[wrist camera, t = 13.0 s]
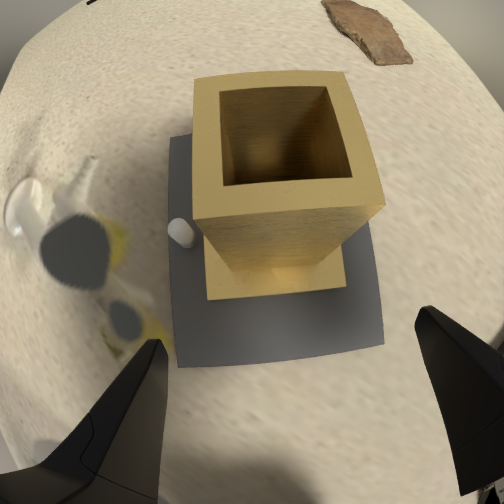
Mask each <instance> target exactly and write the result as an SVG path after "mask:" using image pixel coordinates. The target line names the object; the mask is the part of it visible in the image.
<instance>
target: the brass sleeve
mask: <svg viewBox="0 0 504 504" xmlns="http://www.w3.org/2000/svg"><path fill="white" fill-rule="evenodd" d="M192 201H193V220H194V222H195V223H196V224H197V226H198V227H199V229H200V230H201V231H202V233H203V234H204V253H205V270H206V286H207V300H209V301H214V300H227V299H240V298H251V297H262V296H273V295H283V294H293V293H302V292H311V291H320V290H328V289H337V288H343V287H346V279H345V271H344V264H343V257H342V250H341V244H342V243H343V242H344V241H346V240H347V239H348V238H349V237H350V236H351V235H352V234H354V233H355V232H356V231H357V230H358V229H359V228H360V227H362V226H363V225H364V224H365V223H366V222H367V221H368V220H369V219H370V218H372V217H373V216H374V215H375V214H376V213H377V212H378V211H379V210H380V209H382V208H383V207H384V206H385V205H386V202H385V198H384V194H383V190H382V186H381V182H380V178H379V174H378V171H377V167H376V164H375V160H374V157H373V153H372V150H371V147H370V144H369V140H368V137H367V134H366V131H365V128H364V125H363V122H362V120H361V117H360V114H359V111H358V108H357V106H356V103H355V100H354V98H353V95H352V93H351V90H350V88H349V85H348V83H347V80H346V78H345V76H344V73H343V72H336V71H307V70H292V71H263V72H248V73H237V74H227V75H219V76H211V77H204V78H198V79H194V101H193V136H192Z"/></svg>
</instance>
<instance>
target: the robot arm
mask: <svg viewBox="0 0 504 504" xmlns="http://www.w3.org/2000/svg"><path fill="white" fill-rule="evenodd" d="M415 331H416V335H417V338H418V342H419V345H420V349H421V353H422V356H423V360H424V363H425V366H426V369H427V372H428V375H429V378H430V380H431V383H432V386H433V389H434V392H435V395H436V398H437V401H438V404H439V408H440V411H441V414H442V417H443V421H444V424H445V428H446V431H447V435H448V439H449V443H450V447H451V451H452V456H453V460H454V465H455V469H456V474H457V479H458V485H459V491H460V495H461V496H464V495H466V494H469V493H471V492H474V491H476V490H478V489H480V488H483V487H485V486H487V485H489V484H491V483H493V484H494V485H492V486H491V487H489V488H488V489H487V490H485V491H484V492H483V493H482V495H481V497H480V499H479V502H478V504H504V356H503V355H502V354H500V353H499V352H498V351H496V350H495V349H494V348H492V347H491V346H489V345H488V344H487V343H485V342H484V341H483V340H481V339H480V338H478V337H477V336H476V335H474V334H473V333H471V332H470V331H468V330H467V329H466V328H464V327H463V326H461V325H460V324H458V323H457V322H455V321H454V320H453V319H451V318H450V317H448V316H447V315H445V314H444V313H442V312H441V311H439V310H438V309H436V308H435V307H433V306H431V305H429V306H424V307H422V308H421V309H420V311H419V313H418V316H417V318H416V321H415ZM167 397H168V354H167V352H166V350H165V348H164V345H163V343H162V341H161V340H160V339H148V340H147V341H146V342H145V343H144V344H143V346H142V347H141V348H140V349H139V350H138V352H137V353H136V354H135V355H134V356H133V358H132V359H131V360H130V361H129V363H128V364H127V365H126V366H125V367H124V369H123V370H122V371H121V372H120V374H119V375H118V376H117V377H116V378H115V380H114V381H113V382H112V383H111V385H110V386H109V387H108V388H107V390H106V391H105V392H104V393H103V394H102V396H101V397H100V398H99V399H98V401H97V402H96V403H95V404H94V406H93V407H92V408H91V409H90V411H89V412H90V413H89V412H88V413H87V414H86V416H85V417H84V418H83V419H82V421H81V422H80V423H79V424H78V425H77V427H76V428H75V429H74V430H73V431H72V432H71V433H70V434H69V435H68V437H67V438H66V439H65V440H64V441H63V442H62V443H61V444H60V445H59V446H58V447H57V448H56V449H55V450H54V451H53V452H52V453H51V454H50V455H49V456H48V457H47V458H46V459H45V460H44V461H42V462H41V463H39V464H38V465H35V466H33V467H30V468H26V469H22V470H18V471H14V472H9V473H5V474H0V504H157V503H158V502H157V499H158V486H159V473H160V461H161V451H162V441H163V432H164V423H165V415H166V407H167Z"/></svg>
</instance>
